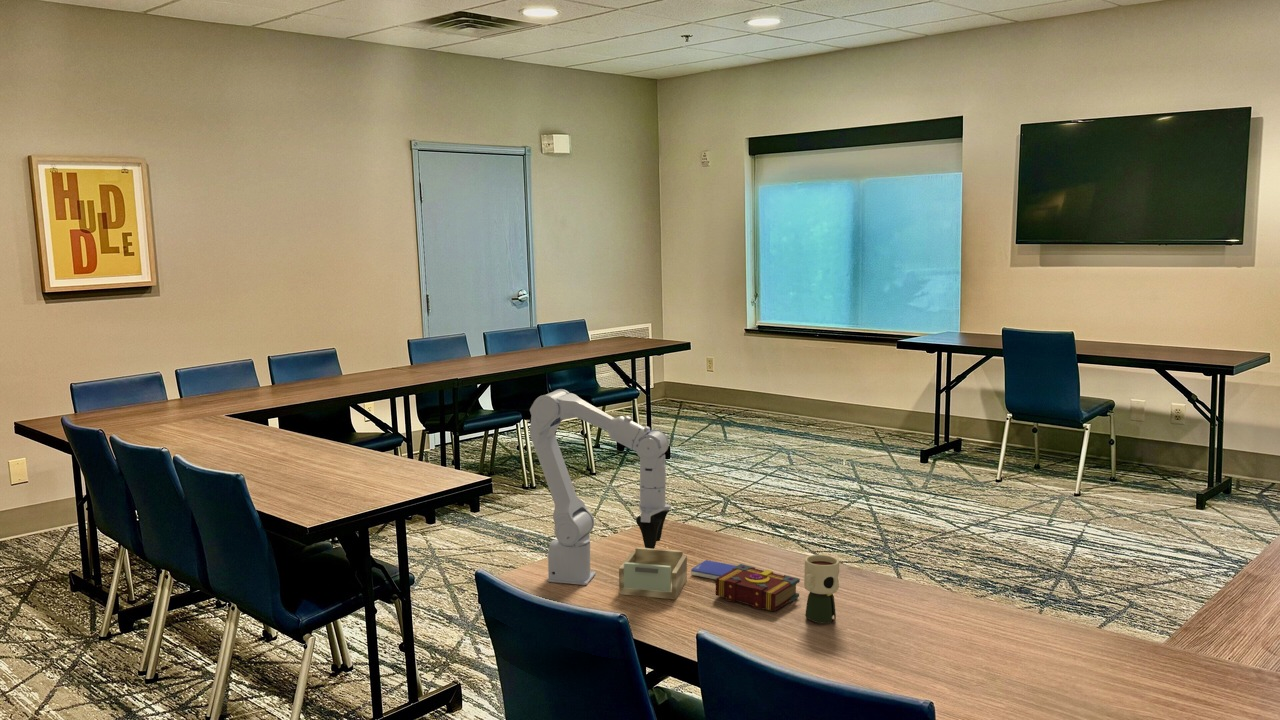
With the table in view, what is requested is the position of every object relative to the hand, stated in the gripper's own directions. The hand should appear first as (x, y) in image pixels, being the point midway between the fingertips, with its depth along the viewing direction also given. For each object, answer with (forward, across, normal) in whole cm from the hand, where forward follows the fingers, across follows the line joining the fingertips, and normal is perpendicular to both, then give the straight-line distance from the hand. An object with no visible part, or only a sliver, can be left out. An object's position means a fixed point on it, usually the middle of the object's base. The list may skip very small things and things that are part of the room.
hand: (652, 544), depth 221 cm
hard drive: (+10, +12, -14) cm, 21 cm away
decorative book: (+10, 0, -23) cm, 25 cm away
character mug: (+11, -9, -38) cm, 40 cm away
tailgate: (+9, -6, 0) cm, 10 cm away
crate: (+10, +1, 0) cm, 10 cm away
